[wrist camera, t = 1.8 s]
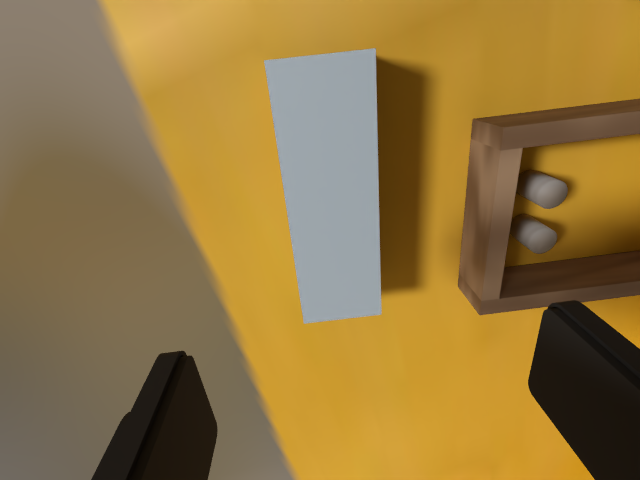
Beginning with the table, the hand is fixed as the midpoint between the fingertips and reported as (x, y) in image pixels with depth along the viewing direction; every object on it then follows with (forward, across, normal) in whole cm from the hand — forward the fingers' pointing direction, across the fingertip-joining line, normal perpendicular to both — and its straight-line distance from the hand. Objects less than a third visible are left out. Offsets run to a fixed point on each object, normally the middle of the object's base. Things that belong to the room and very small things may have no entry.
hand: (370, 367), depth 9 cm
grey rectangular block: (+15, 0, -1) cm, 15 cm away
